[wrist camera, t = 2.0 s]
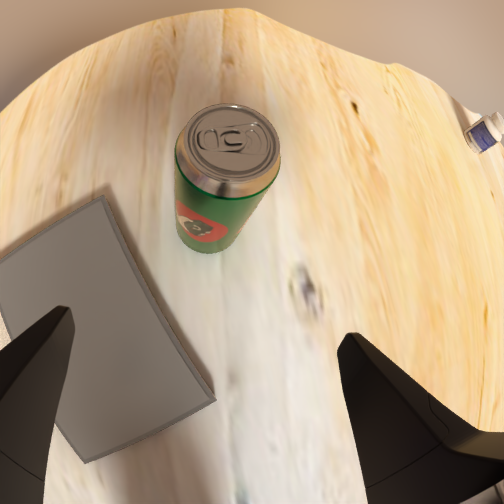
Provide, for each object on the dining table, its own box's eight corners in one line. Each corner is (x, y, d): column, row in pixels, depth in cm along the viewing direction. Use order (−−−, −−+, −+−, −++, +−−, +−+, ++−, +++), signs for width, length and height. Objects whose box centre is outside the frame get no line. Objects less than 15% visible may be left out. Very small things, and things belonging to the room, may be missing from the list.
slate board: (215, 396, 20) (217, 400, 19) (88, 458, 16) (84, 464, 15) (107, 200, 22) (103, 194, 20) (-6, 271, 18) (-13, 269, 16)
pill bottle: (480, 160, 38) (512, 140, 30) (463, 141, 37) (496, 118, 29) (479, 143, 40) (508, 123, 31) (462, 125, 39) (492, 103, 31)
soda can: (242, 251, 23) (299, 186, 12) (179, 259, 22) (178, 194, 11) (232, 193, 24) (275, 98, 13) (173, 199, 23) (172, 99, 12)
